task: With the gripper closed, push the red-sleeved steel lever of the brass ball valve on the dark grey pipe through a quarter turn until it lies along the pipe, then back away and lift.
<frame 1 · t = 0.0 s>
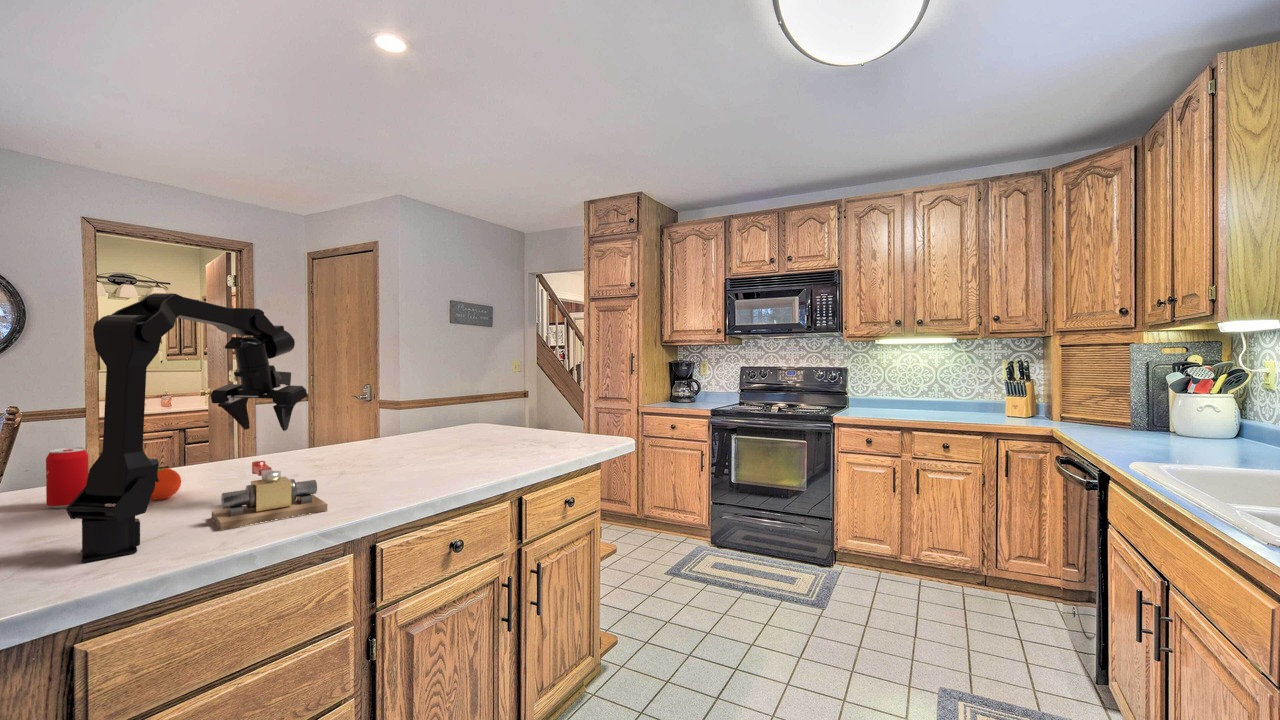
hand: (266, 429, 124), 15 cm above the worktop, tool pointing down, fingers open, 9 cm apart
clementine: (159, 500, 120), on the worktop
beverage can: (67, 506, 115), on the worktop
valve lever: (265, 471, 115), point 8 cm above the worktop, hinge at 0.0°
valve: (271, 494, 111), on the mounting board, point 4 cm above the worktop
mounting board: (271, 514, 111), on the worktop
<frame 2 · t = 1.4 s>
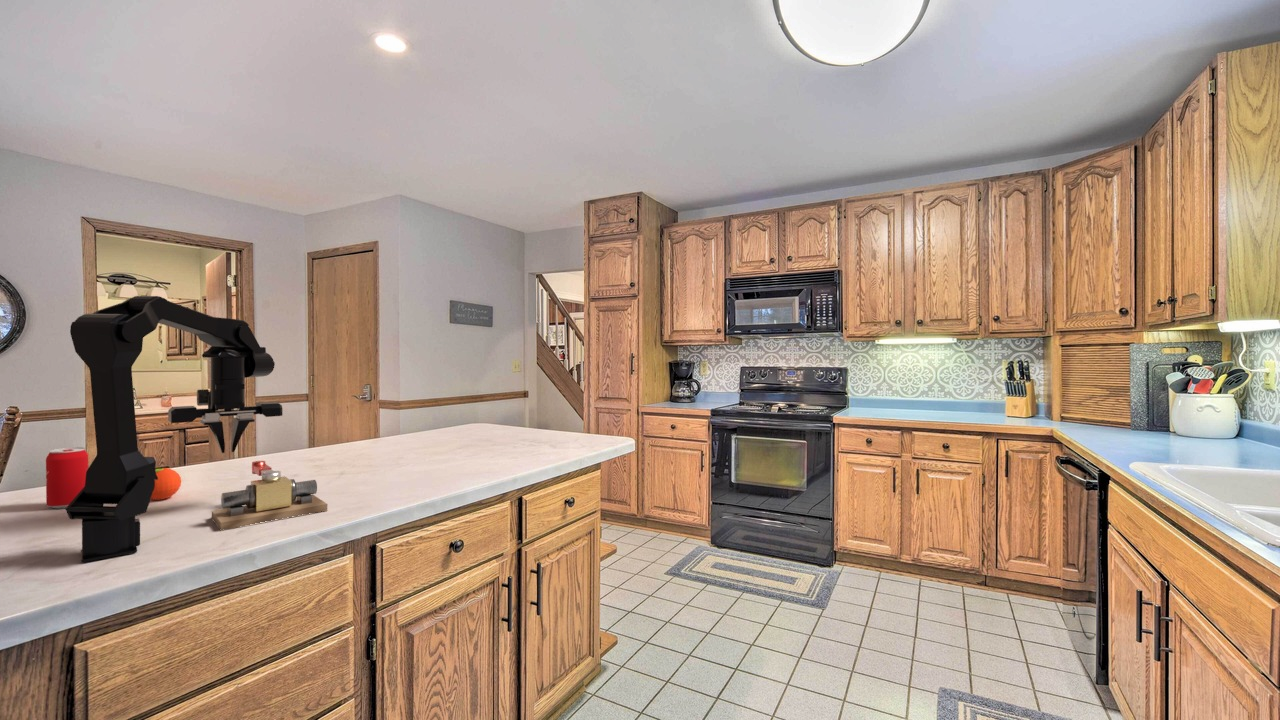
hand: (227, 452, 115), 12 cm above the worktop, tool pointing down, fingers closed
nothing on the worktop moved.
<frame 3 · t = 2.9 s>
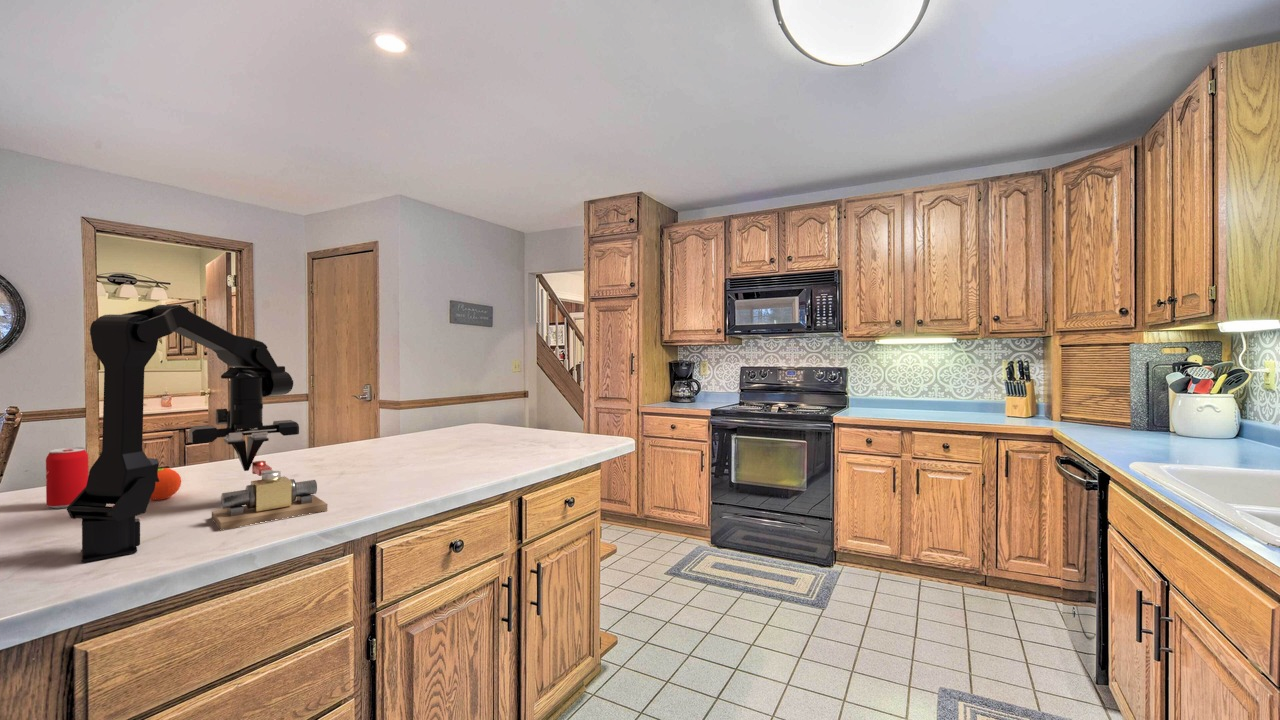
hand: (246, 470, 117), 8 cm above the worktop, tool pointing down, fingers closed
valve lever: (265, 471, 115), point 8 cm above the worktop, hinge at 0.2°, touching gripper
everything else where it was.
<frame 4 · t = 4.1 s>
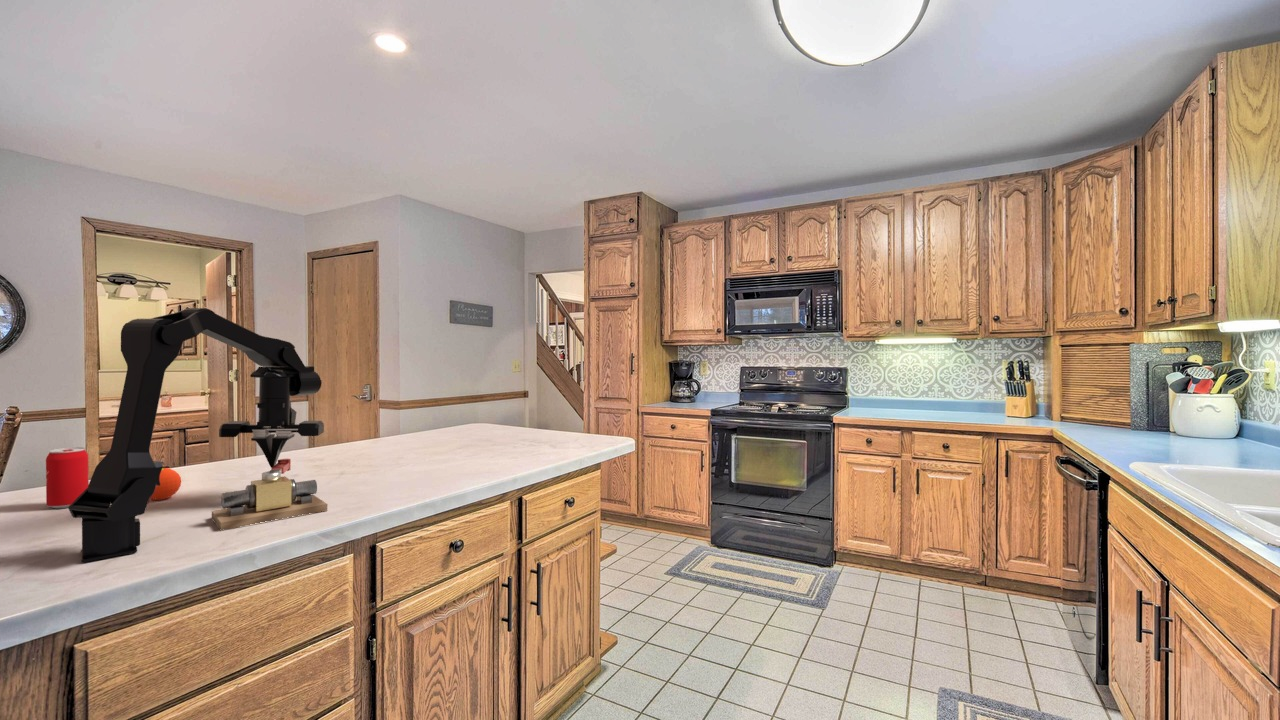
hand: (272, 467, 120), 8 cm above the worktop, tool pointing down, fingers closed
valve lever: (277, 470, 116), point 8 cm above the worktop, hinge at 24.5°, touching gripper
everything else where it was.
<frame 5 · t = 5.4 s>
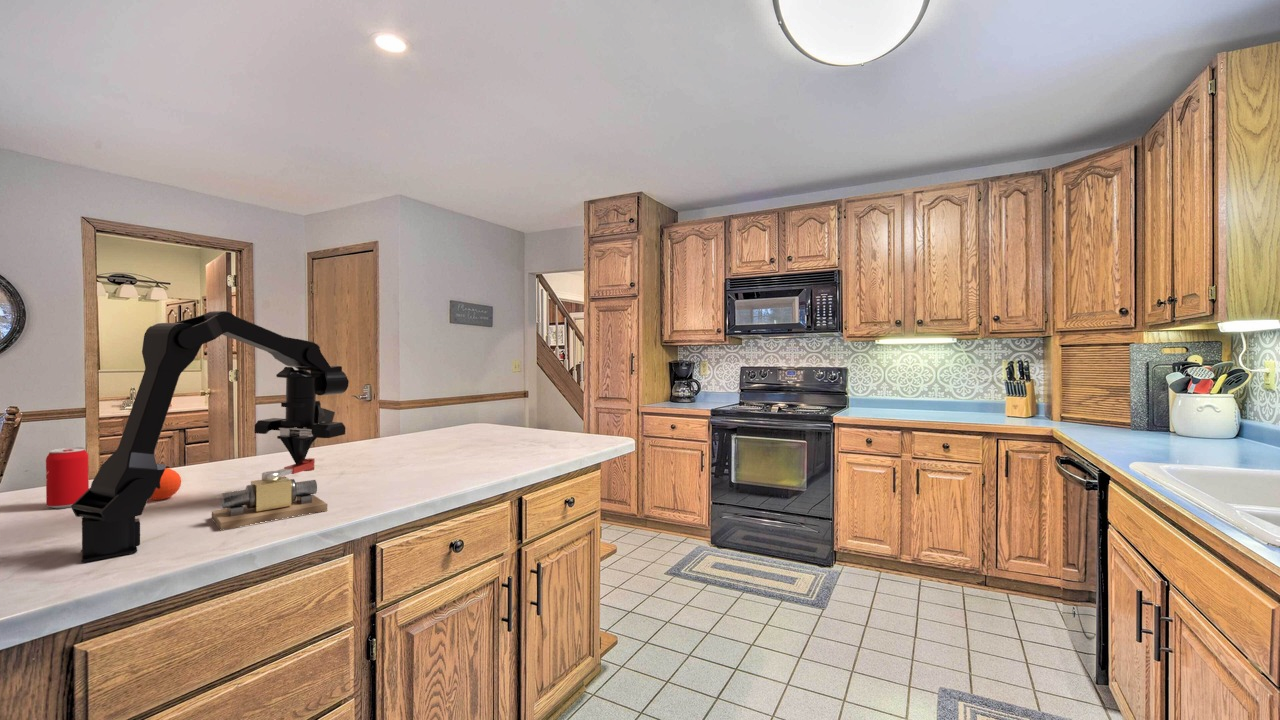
hand: (299, 465, 122), 8 cm above the worktop, tool pointing down, fingers closed
valve lever: (289, 470, 116), point 8 cm above the worktop, hinge at 50.9°, touching gripper
everything else where it was.
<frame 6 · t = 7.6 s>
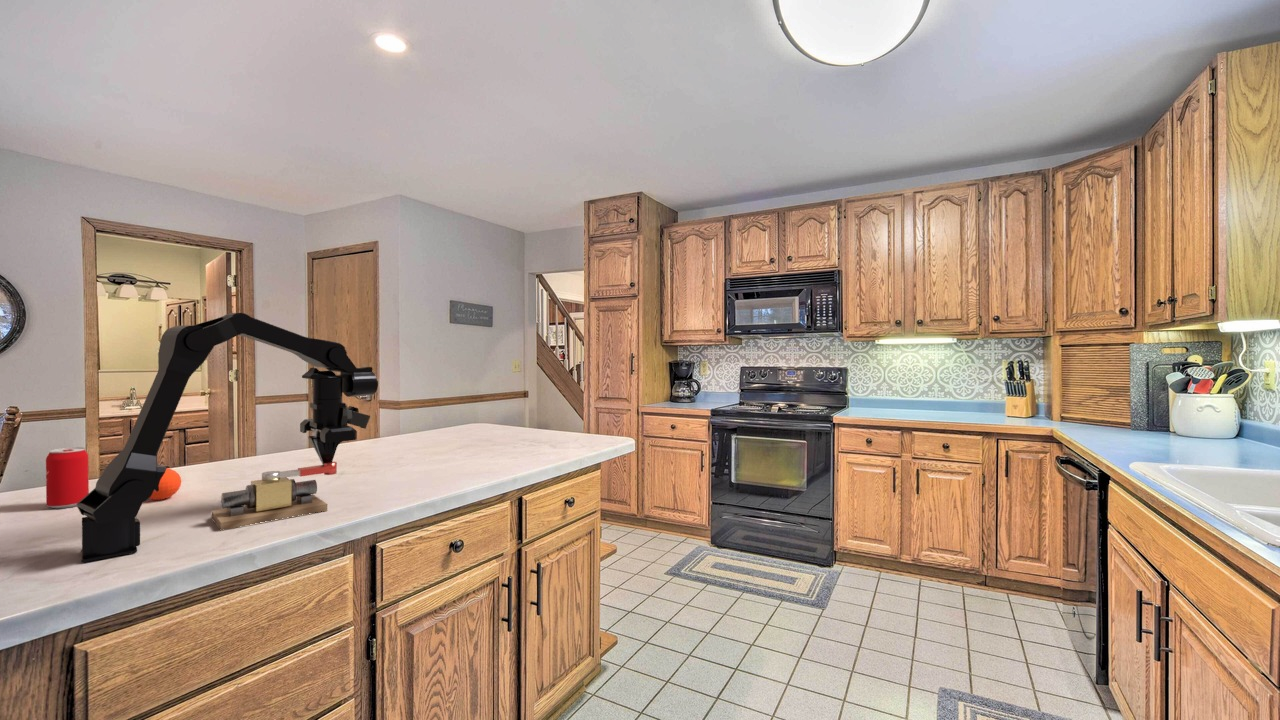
hand: (327, 468, 120), 8 cm above the worktop, tool pointing down, fingers closed
valve lever: (300, 472, 115), point 8 cm above the worktop, hinge at 90.3°, touching gripper
everything else where it was.
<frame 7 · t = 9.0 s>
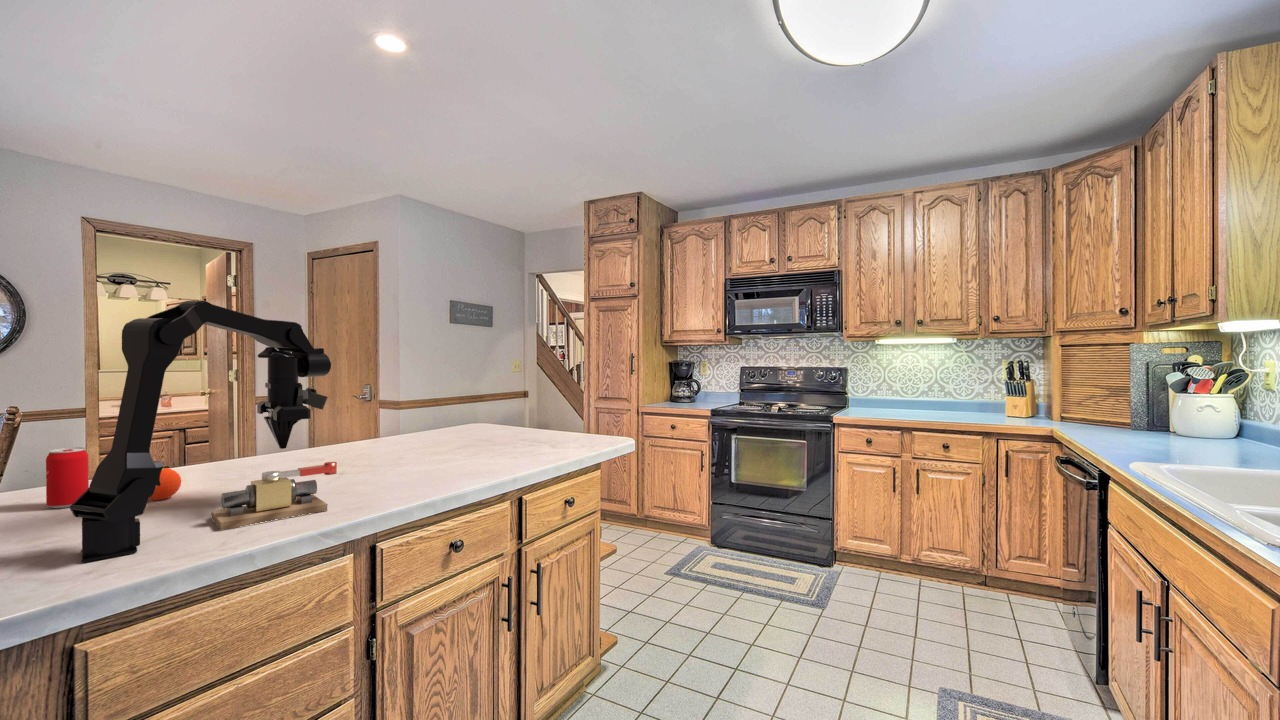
hand: (282, 448, 120), 12 cm above the worktop, tool pointing down, fingers closed
valve lever: (300, 472, 115), point 8 cm above the worktop, hinge at 90.4°
everything else where it was.
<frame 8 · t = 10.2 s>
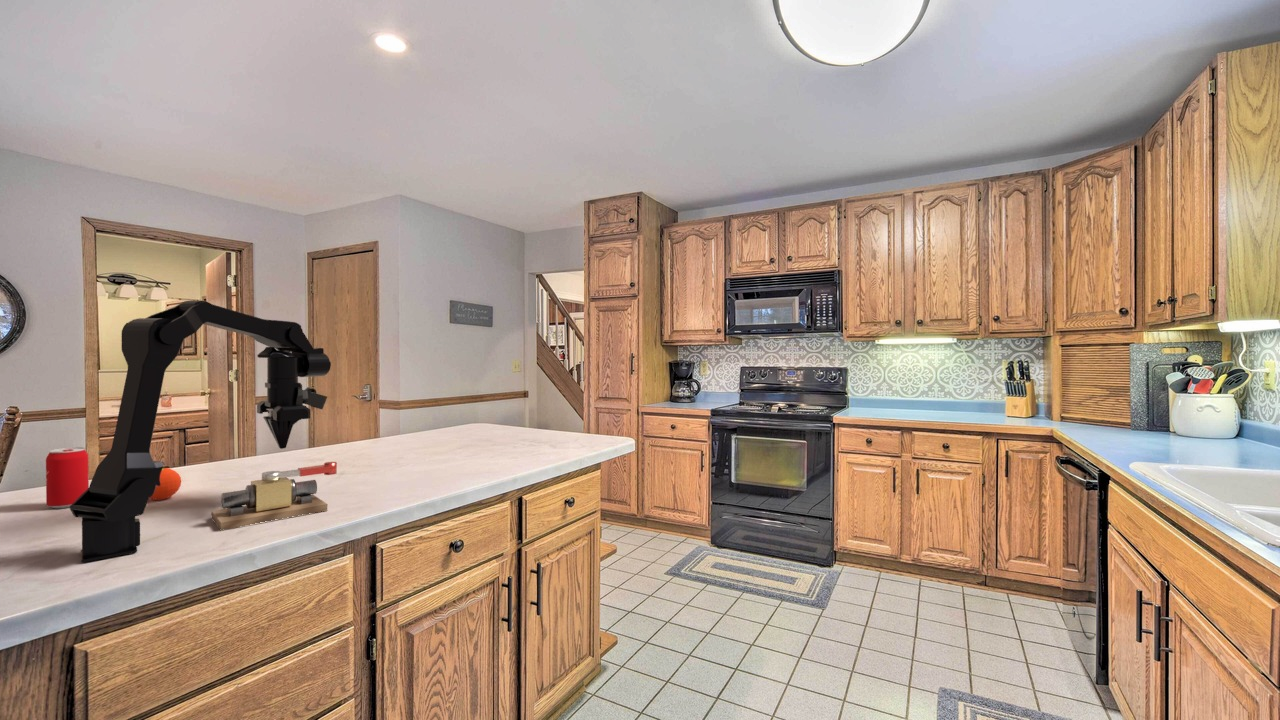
hand: (282, 448, 120), 12 cm above the worktop, tool pointing down, fingers closed
nothing on the worktop moved.
at the end: valve lever at +90° (first picture: +0°) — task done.
